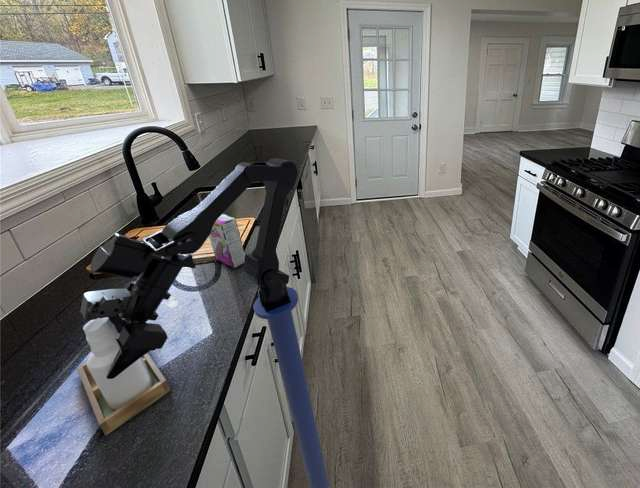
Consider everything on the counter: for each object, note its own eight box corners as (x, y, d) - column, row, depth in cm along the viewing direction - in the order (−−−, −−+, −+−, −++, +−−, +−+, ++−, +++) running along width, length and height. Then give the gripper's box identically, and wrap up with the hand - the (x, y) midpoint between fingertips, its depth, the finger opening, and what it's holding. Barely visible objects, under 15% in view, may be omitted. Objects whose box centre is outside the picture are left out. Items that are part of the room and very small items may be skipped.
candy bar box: (214, 260, 106) (201, 216, 100) (229, 252, 110) (217, 210, 104) (233, 269, 100) (220, 224, 94) (248, 261, 104) (236, 217, 98)
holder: (139, 344, 74) (135, 335, 72) (171, 390, 62) (166, 380, 61) (82, 377, 66) (76, 367, 65) (105, 435, 55) (99, 425, 54)
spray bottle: (157, 372, 66) (126, 304, 59) (148, 401, 60) (113, 329, 53) (116, 386, 63) (79, 316, 57) (103, 417, 57) (60, 344, 51)
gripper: (93, 257, 60) (36, 338, 56) (120, 293, 49) (52, 398, 45) (154, 270, 69) (109, 341, 65) (189, 304, 58) (137, 392, 54)
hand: (103, 364), depth 57 cm, fingers open, 9 cm apart
